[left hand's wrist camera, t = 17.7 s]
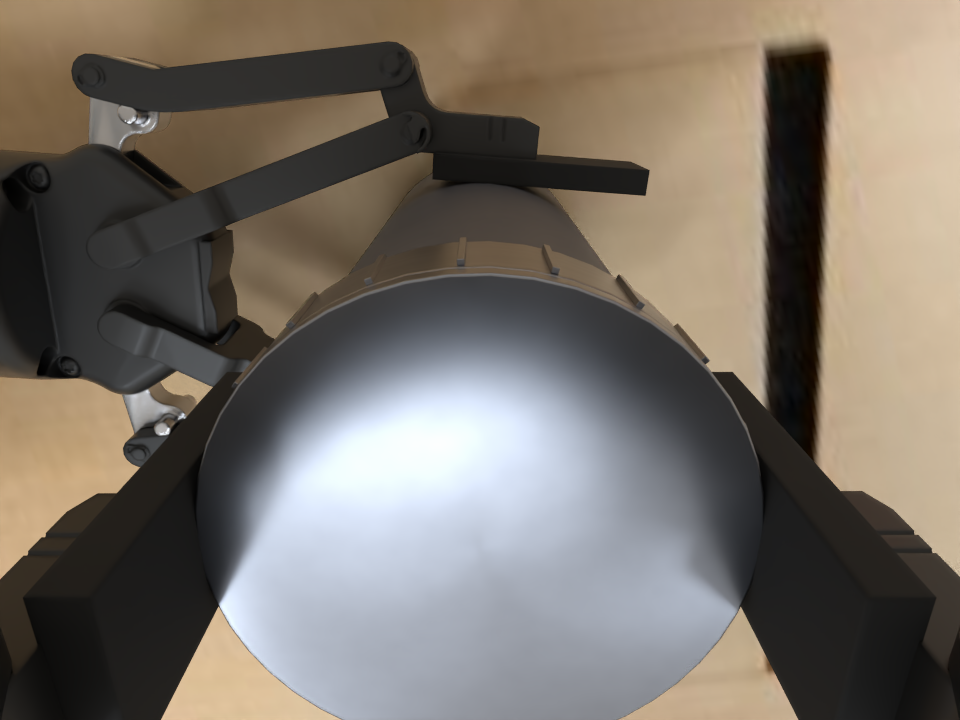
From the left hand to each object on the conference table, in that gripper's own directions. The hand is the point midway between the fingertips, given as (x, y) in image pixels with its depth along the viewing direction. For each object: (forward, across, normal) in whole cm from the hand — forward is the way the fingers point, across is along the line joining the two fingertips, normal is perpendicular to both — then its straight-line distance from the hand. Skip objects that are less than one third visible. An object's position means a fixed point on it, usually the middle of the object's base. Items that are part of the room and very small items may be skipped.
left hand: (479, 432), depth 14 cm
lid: (-3, 0, 0) cm, 3 cm away
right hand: (+10, -5, 0) cm, 11 cm away
